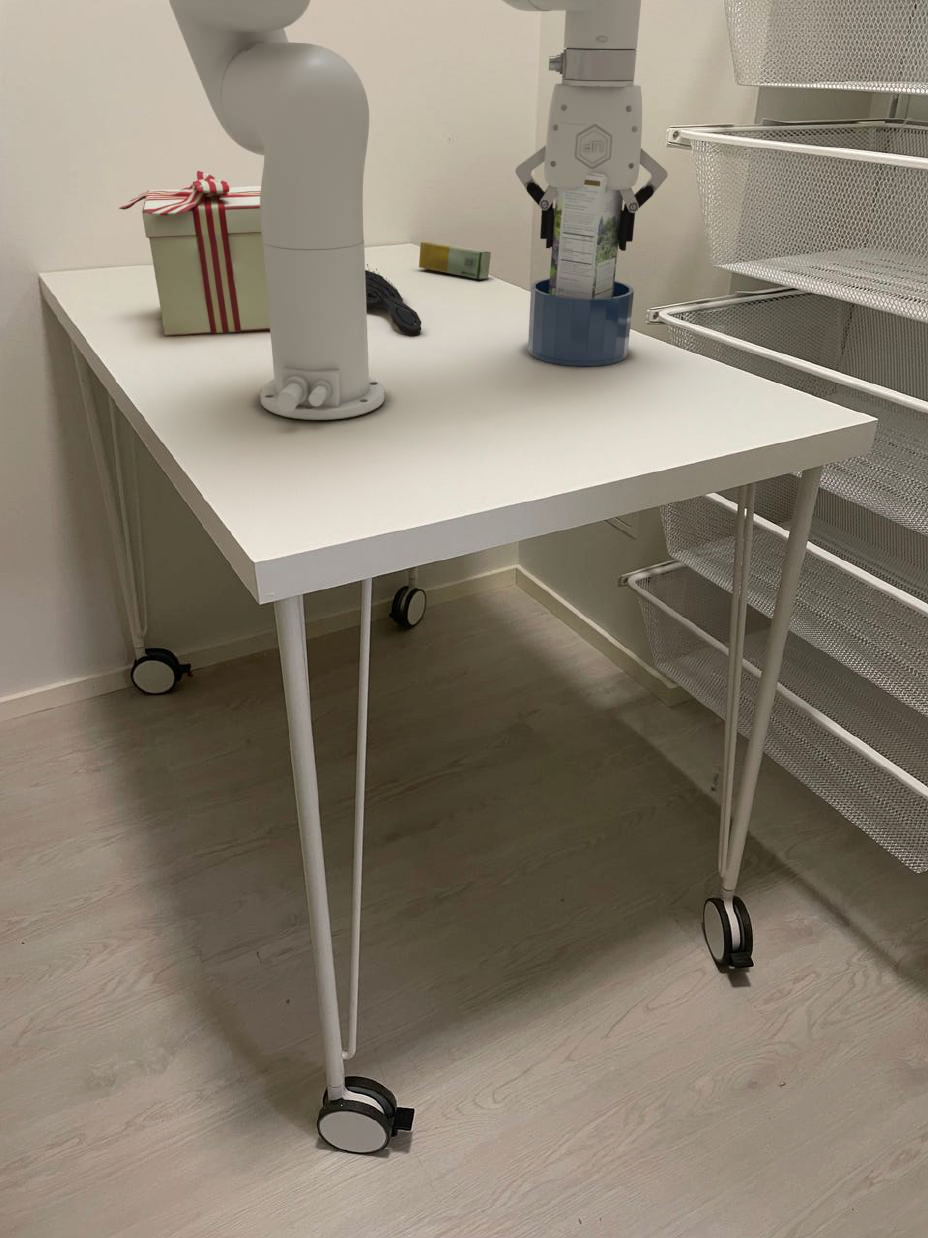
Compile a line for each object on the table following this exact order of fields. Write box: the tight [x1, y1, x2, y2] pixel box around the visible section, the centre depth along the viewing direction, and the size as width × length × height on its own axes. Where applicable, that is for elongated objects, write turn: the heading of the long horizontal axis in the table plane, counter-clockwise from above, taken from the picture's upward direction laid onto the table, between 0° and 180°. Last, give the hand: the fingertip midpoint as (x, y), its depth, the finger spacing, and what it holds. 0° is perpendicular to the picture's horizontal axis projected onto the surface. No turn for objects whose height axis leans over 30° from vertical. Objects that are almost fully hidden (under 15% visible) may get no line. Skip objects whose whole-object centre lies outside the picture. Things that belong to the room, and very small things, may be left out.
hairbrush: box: [365, 263, 422, 337], centre depth 131 cm, size 8×4×25 cm
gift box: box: [118, 170, 270, 337], centre depth 122 cm, size 17×18×17 cm
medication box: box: [418, 241, 492, 281], centre depth 152 cm, size 12×3×4 cm, turn 55°
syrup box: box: [549, 172, 624, 299], centre depth 110 cm, size 6×6×14 cm
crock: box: [527, 277, 635, 367], centre depth 115 cm, size 12×12×8 cm
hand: (585, 246), depth 111 cm, fingers closed on syrup box, 7 cm apart
